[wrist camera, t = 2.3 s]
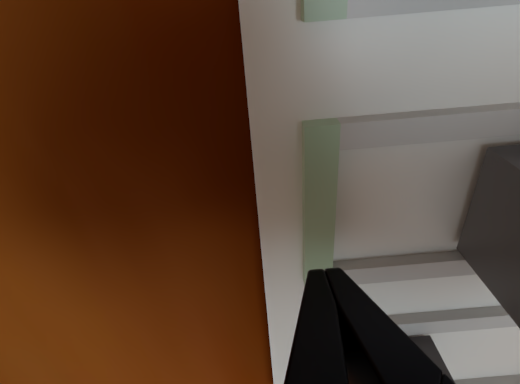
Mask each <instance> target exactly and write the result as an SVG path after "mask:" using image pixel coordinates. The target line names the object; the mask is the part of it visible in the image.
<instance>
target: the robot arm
mask: <svg viewBox="0 0 520 384" xmlns="http://www.w3.org/2000/svg"><path fill="white" fill-rule="evenodd" d="M442 374H443V371H442V370H441V369H440V368H439V367H438V366H437V365H436V364H435V363H434V362H433V361H432V360H431V359H430V358H429V357H428V356H427V355H426V354H425V353H424V352H423V351H422V350H421V349H420V348H419V347H418V346H417V345H416V344H415V343H414V342H413V340H412V339H411V338H410V337H409V336H408V335H407V334H406V333H405V332H404V331H403V330H402V329H401V328H400V327H399V326H398V325H397V324H396V323H395V322H394V321H393V320H392V319H391V318H390V317H389V316H388V315H387V314H386V313H385V312H384V311H383V310H382V309H381V308H380V307H379V306H378V305H377V304H376V303H375V302H374V301H373V300H372V299H371V298H370V297H369V296H368V295H367V294H366V293H365V292H364V291H363V290H362V289H361V288H360V287H359V286H358V285H357V284H356V283H355V282H354V281H353V280H352V279H351V278H350V277H349V276H348V275H347V274H346V273H345V272H344V271H343V270H342V269H341V268H339V267H336V268H326V269H325V270H323V269H312V270H309V271H308V273H307V278H306V282H305V287H304V292H303V296H302V301H301V306H300V310H299V315H298V319H297V324H296V329H295V333H294V338H293V343H292V347H291V352H290V357H289V361H288V366H287V370H286V375H285V380H284V384H455V383H454V382H453V381H452V380H451V379H450V378H449V377H448V376H447V375H446V374H443V375H442Z"/></svg>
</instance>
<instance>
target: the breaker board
mask: <svg viewBox="0 0 520 384" xmlns="http://www.w3.org/2000/svg"><path fill="white" fill-rule="evenodd" d="M238 4H239V15H240V26H241V37H242V47H243V58H244V69H245V80H246V91H247V102H248V112H249V123H250V134H251V145H252V156H253V167H254V177H255V188H256V199H257V210H258V221H259V231H260V242H261V253H262V264H263V275H264V286H265V296H266V307H267V318H268V329H269V340H270V351H271V361H272V372H273V383H274V384H284V380H285V375H286V370H287V366H288V361H289V357H290V352H291V347H292V343H293V338H294V333H295V329H296V324H297V319H298V315H299V310H300V306H301V301H302V296H303V292H304V287H305V282H306V278H307V273H308V271H309V270H312V269H323V270H325V269H326V268H336V267H339V268H341V269H342V270H343V271H344V272H345V273H346V274H347V275H348V276H349V277H350V278H351V279H352V280H353V281H354V282H355V283H356V284H357V285H358V286H359V287H360V288H361V289H362V290H363V291H364V292H365V293H366V294H367V295H368V296H369V297H370V298H371V299H372V300H373V301H374V302H375V303H376V304H377V305H378V306H379V307H380V308H381V309H382V310H383V311H384V312H385V313H386V314H387V315H388V316H389V317H390V318H391V319H392V320H393V321H394V322H395V323H396V324H397V325H398V326H399V327H400V328H401V329H402V330H403V331H404V332H405V333H406V334H407V335H408V336H409V337H416V336H427V335H430V336H431V338H432V340H433V342H434V344H435V346H436V348H437V350H438V351H439V353H440V355H441V357H442V359H443V361H444V363H445V365H446V367H447V369H448V370H449V372H450V374H451V376H452V378H453V380H454V382H455V384H520V328H519V327H518V326H517V325H516V323H515V322H514V321H513V320H512V318H511V317H510V316H509V314H508V313H507V312H506V311H505V309H504V308H503V307H502V306H501V304H500V303H499V302H498V301H497V299H496V298H495V297H494V295H493V294H492V293H491V292H490V290H489V289H488V288H487V287H486V285H485V284H484V283H483V282H482V280H481V279H480V278H479V277H478V275H477V274H476V273H475V271H474V270H473V269H472V268H471V266H470V265H469V264H468V263H467V261H466V260H465V259H464V258H463V256H462V255H461V254H460V252H459V251H458V250H457V249H456V248H457V245H458V242H459V238H460V235H461V232H462V229H463V225H464V222H465V219H466V215H467V212H468V209H469V206H470V202H471V199H472V196H473V193H474V189H475V186H476V183H477V179H478V176H479V173H480V170H481V166H482V163H483V160H484V156H485V153H486V150H487V147H493V146H505V145H516V144H520V0H238Z"/></svg>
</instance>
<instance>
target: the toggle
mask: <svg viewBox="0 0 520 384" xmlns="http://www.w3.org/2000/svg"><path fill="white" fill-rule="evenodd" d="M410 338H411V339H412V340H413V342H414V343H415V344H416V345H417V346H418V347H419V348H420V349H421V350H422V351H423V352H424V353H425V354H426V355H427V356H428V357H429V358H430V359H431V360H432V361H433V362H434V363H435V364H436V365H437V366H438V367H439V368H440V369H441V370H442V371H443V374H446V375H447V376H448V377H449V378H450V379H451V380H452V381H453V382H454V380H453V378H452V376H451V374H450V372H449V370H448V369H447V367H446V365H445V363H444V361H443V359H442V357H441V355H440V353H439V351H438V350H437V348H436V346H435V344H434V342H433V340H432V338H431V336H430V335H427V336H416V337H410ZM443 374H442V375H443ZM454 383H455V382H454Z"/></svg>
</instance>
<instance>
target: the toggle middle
mask: <svg viewBox="0 0 520 384" xmlns="http://www.w3.org/2000/svg"><path fill="white" fill-rule="evenodd" d="M456 249H457V250H458V251H459V252H460V254H461V255H462V256H463V258H464V259H465V260H466V261H467V263H468V264H469V265H470V266H471V268H472V269H473V270H474V271H475V273H476V274H477V275H478V277H479V278H480V279H481V280H482V282H483V283H484V284H485V285H486V287H487V288H488V289H489V290H490V292H491V293H492V294H493V295H494V297H495V298H496V299H497V301H498V302H499V303H500V304H501V306H502V307H503V308H504V309H505V311H506V312H507V313H508V314H509V316H510V317H511V318H512V320H513V321H514V322H515V323H516V325H517V326H518V327H519V328H520V144H516V145H505V146H493V147H487V150H486V153H485V156H484V160H483V163H482V166H481V170H480V173H479V176H478V179H477V183H476V186H475V189H474V193H473V196H472V199H471V202H470V206H469V209H468V212H467V215H466V219H465V222H464V225H463V229H462V232H461V235H460V238H459V242H458V245H457V248H456Z"/></svg>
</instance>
